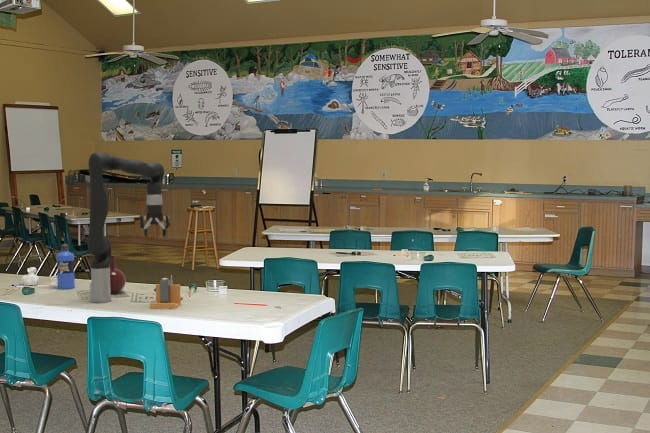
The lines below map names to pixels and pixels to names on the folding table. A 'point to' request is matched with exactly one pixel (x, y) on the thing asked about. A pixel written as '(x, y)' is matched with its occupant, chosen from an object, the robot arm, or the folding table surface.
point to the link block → (165, 291)
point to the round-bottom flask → (116, 277)
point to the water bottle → (65, 269)
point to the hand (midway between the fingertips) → (155, 236)
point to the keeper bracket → (174, 298)
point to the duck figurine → (30, 277)
